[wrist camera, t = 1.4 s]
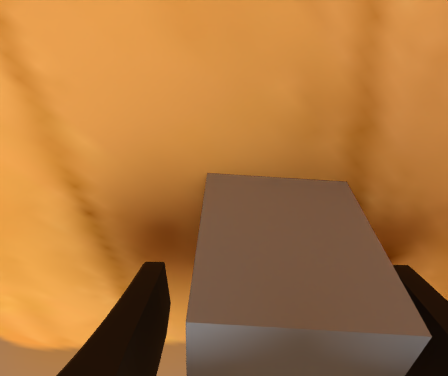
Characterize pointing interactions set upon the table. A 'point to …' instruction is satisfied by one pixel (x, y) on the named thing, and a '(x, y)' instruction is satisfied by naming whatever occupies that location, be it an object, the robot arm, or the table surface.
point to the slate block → (294, 285)
